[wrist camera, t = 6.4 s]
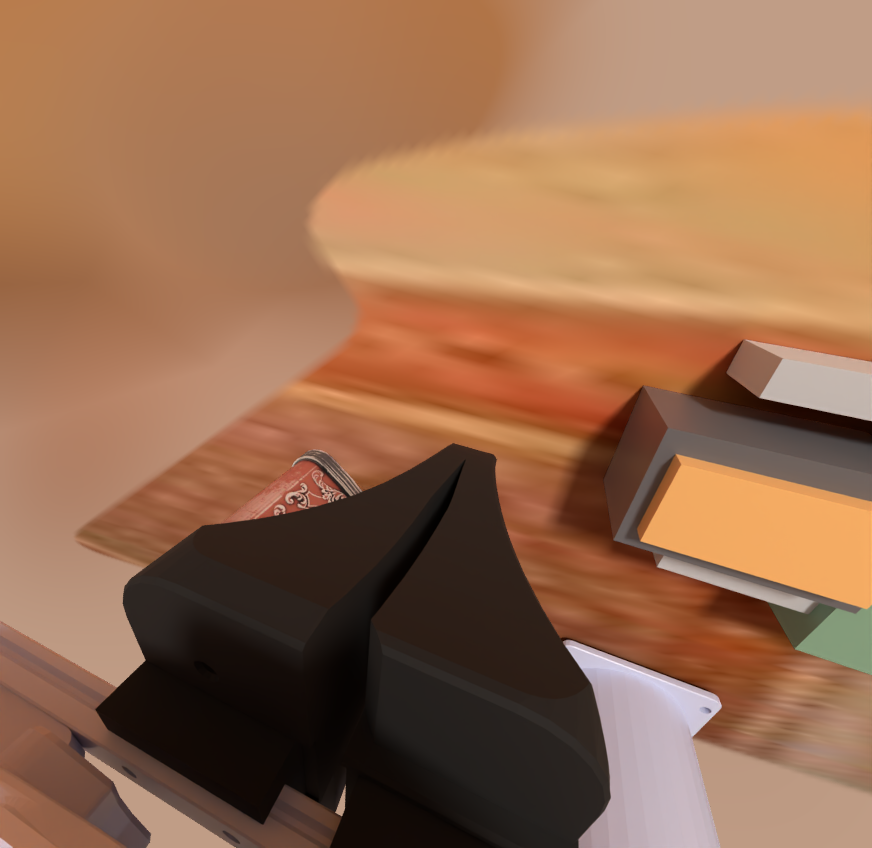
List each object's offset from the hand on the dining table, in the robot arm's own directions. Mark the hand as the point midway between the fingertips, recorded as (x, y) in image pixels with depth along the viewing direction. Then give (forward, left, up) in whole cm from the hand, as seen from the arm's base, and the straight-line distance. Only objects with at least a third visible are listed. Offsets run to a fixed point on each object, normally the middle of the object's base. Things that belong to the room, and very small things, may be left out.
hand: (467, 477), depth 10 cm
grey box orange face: (0, -9, -6) cm, 11 cm away
